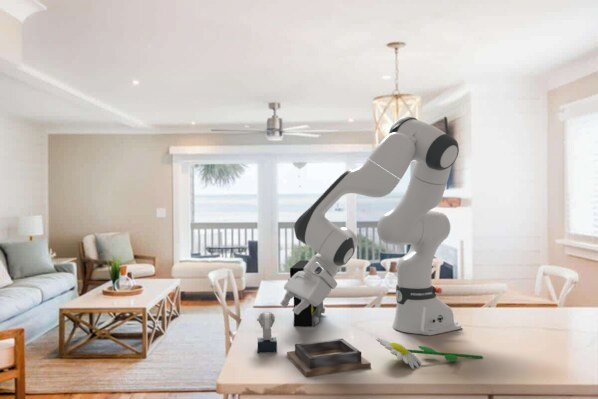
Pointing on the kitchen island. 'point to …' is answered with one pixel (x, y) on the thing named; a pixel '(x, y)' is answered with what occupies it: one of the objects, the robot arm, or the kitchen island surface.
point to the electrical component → (309, 313)
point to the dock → (327, 357)
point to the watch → (267, 333)
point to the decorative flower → (411, 358)
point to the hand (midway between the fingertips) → (288, 309)
